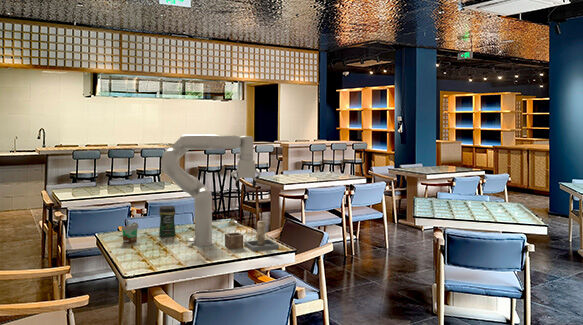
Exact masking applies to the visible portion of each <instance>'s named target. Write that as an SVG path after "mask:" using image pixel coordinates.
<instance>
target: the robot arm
mask: <svg viewBox="0 0 583 325" xmlns="http://www.w3.org/2000/svg"><path fill="white" fill-rule="evenodd" d="M238 148H239V155H237V156H236V157H237V159H238V161H237V168H236V170H234V171H232V172H230V175H231V177H232V178H233V180H234V181H235V184H234V186H235V187H236V189H239V188H240V186H239V184H240V181H239V180H240V179H242V178H243V179H244V178H245V179H252V188H253V189H254V188H256V185H257V180H258V179H259V178H260V176H261V175H262V174H261V172H259V171H257V170H256V163H255V160H254V136H250V135H241V136H240V135H235V134H231V135H216V134H210V133H209V134H208V133H207V134H201V133H200V134H198V133H197V134H196V133H195V134H182V135H181V136H180V137H179V138H178V139H177V140H176V141H175V142H174V143H173V144H172V145H171V146H170V147H169V148H167V149H166V150H164V152H163V154H162V156H161V161H160V162H161V168H162V171H163V172H164V174H165V175H166V176H167V177H168V178H169V179H170V180H171V181H172V182H173V183H174V184H175V185H176V186H177V187H179V188H180V189H181V190H182V191H183V192H185V193H187V194H189V196H191V197H192V198H193V199H194V201H193V203H194V235H193V237H192V238H186V239H185V242H186V243H191V244H192V245H194V246H197V247H198V246H211V245H214V244H215V243H216V242H215V241H214V240H213V216H212V215H213V207H212V206H213V195H212V193H211V190H210V189H209V188H208V187H207V186H206V185H205V184H204V183H203V182H201V181H200V180H199V179H198V178H197V177H195V176H194V175H191V174H189V173H188V172H186V171H185V170H184V169H183V168H182V166H180V165H179V164H178V161H179V160H180V159H181V158H182V157H183V156H184V155H185V154H186V153H187V152H189V150H191V151H193V150H194V151H195V150H200V151H201V150H210V151H211V150H212V151H213V150H236V149H238ZM235 175H236V176H235Z"/></svg>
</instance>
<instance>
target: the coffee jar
mask: <svg viewBox="0 0 583 325" xmlns="http://www.w3.org/2000/svg"><path fill="white" fill-rule="evenodd" d="M158 213H159V217H160V218H159V219H160V220H159V228H158V229H159V230H158V231H159V232H158V234H159V237H163V238H166V237H167V238H169V237H174V236H176V226H175V224H176V223H175V215H176V207H175V206H174V205H160V206H159V211H158Z"/></svg>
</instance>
